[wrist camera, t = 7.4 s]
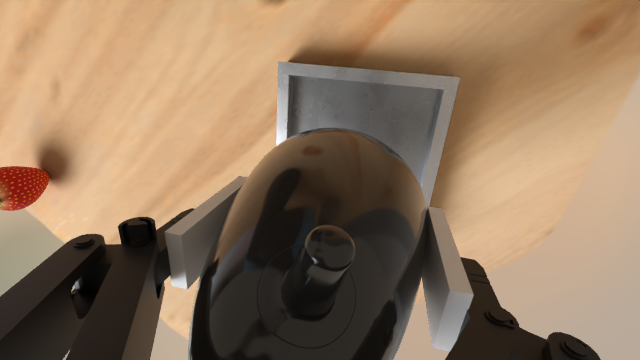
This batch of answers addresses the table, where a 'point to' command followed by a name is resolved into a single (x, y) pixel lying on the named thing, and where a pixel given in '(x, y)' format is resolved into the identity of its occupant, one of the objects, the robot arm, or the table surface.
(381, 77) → the tray unit
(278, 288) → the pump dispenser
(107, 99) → the table surface
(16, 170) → the fruit
